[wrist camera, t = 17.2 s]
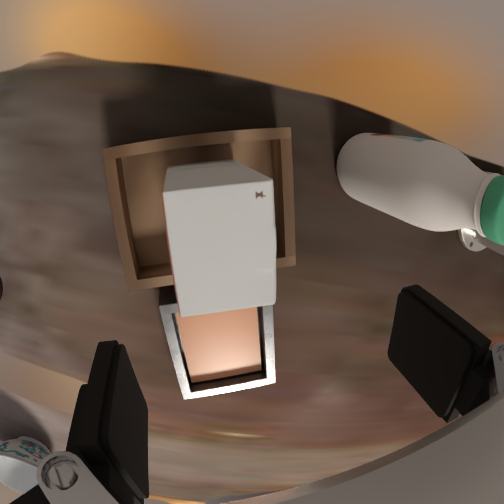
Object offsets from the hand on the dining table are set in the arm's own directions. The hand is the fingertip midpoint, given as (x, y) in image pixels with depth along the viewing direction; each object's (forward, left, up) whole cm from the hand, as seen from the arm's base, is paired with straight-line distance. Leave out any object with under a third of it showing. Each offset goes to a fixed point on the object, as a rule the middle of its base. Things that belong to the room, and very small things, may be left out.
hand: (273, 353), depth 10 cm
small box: (0, 0, -23) cm, 23 cm away
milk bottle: (-18, -2, -24) cm, 30 cm away
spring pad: (0, +15, -22) cm, 26 cm away
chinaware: (+36, +36, -24) cm, 56 cm away
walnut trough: (0, 0, -23) cm, 23 cm away
